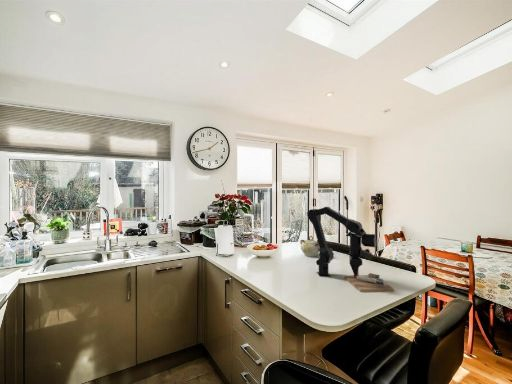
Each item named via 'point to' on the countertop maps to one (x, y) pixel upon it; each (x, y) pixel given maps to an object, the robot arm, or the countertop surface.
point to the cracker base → (368, 284)
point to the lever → (369, 278)
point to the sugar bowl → (310, 247)
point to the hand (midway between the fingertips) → (355, 273)
